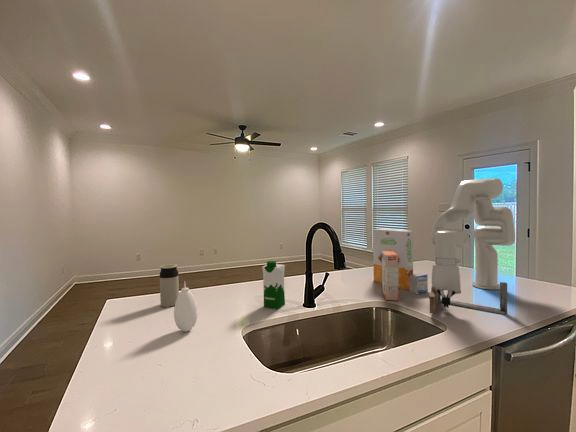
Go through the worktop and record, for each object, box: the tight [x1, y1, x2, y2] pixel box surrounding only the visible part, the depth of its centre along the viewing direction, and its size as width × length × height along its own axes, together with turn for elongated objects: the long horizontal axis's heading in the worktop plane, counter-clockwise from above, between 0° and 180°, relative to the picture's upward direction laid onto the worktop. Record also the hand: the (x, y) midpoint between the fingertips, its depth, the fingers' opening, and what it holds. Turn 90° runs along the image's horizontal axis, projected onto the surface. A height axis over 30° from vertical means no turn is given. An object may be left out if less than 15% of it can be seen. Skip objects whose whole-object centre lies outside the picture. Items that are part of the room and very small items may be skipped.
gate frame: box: [437, 281, 508, 315], centre depth 124 cm, size 4×27×12 cm, turn 48°
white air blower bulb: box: [173, 281, 199, 333], centre depth 105 cm, size 8×8×18 cm
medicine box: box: [409, 273, 429, 295], centre depth 147 cm, size 8×4×9 cm, turn 117°
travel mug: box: [159, 263, 180, 308], centre depth 135 cm, size 8×8×18 cm
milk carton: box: [261, 260, 286, 310], centre depth 130 cm, size 9×9×20 cm
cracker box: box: [381, 251, 399, 302], centre depth 140 cm, size 14×6×21 cm, turn 168°
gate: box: [428, 289, 439, 314], centre depth 122 cm, size 2×20×6 cm, turn 149°
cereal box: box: [372, 228, 414, 291], centre depth 162 cm, size 22×6×30 cm, turn 26°
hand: (446, 306), depth 119 cm, fingers closed
